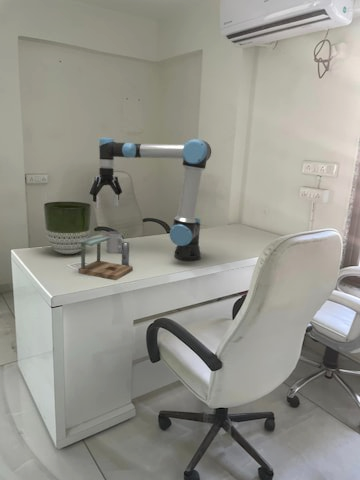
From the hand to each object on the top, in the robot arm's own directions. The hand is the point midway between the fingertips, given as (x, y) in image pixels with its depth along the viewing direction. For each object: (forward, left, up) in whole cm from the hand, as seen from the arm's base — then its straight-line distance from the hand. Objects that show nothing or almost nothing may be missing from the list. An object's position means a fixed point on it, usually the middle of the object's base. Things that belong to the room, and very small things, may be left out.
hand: (106, 206), depth 203 cm
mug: (-4, -4, -27) cm, 27 cm away
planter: (+17, +11, -27) cm, 33 cm away
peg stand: (-18, +29, -26) cm, 43 cm away
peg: (-21, +16, -26) cm, 37 cm away
